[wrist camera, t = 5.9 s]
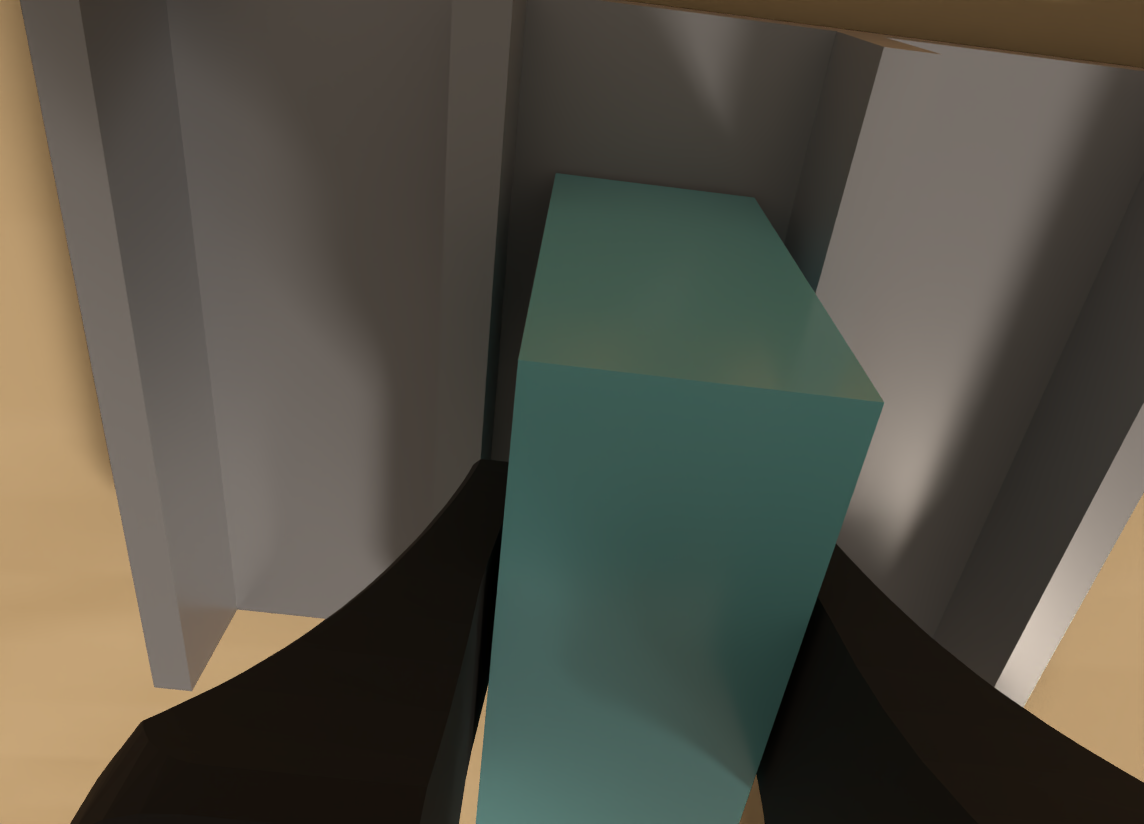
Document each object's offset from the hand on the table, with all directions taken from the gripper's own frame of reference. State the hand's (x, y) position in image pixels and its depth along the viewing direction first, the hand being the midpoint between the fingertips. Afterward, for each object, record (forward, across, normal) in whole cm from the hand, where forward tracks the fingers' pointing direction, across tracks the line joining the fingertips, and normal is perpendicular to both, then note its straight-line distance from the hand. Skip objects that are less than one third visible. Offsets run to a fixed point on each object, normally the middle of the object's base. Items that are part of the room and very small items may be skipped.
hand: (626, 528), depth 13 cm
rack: (+5, 0, 0) cm, 5 cm away
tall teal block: (+4, 0, 0) cm, 4 cm away
